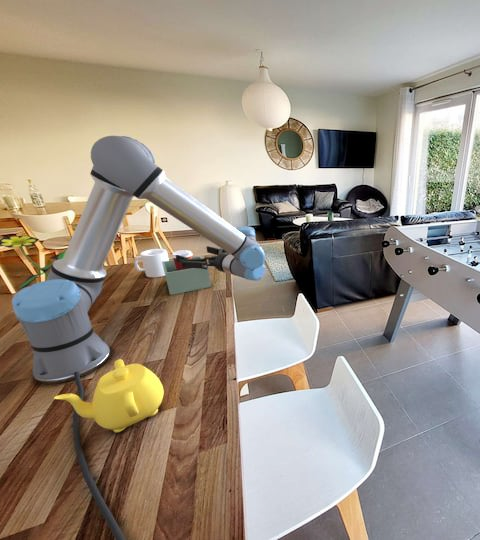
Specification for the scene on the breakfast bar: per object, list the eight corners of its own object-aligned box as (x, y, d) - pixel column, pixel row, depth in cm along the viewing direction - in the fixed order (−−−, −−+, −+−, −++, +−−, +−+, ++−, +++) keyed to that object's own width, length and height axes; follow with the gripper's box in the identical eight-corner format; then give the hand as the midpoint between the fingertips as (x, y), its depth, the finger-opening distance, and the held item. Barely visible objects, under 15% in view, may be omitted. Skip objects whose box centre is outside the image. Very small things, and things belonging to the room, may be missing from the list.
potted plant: (30, 339, 88) (-14, 247, 77) (40, 314, 101) (3, 231, 90) (105, 321, 99) (77, 237, 87) (105, 300, 112) (80, 225, 101)
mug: (134, 279, 130) (128, 257, 126) (140, 270, 139) (135, 250, 135) (169, 275, 135) (164, 254, 131) (173, 268, 144) (168, 248, 140)
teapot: (122, 388, 72) (109, 350, 68) (180, 389, 73) (170, 352, 68) (72, 439, 59) (51, 396, 55) (142, 440, 60) (127, 398, 55)
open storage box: (211, 286, 127) (207, 266, 123) (170, 295, 118) (164, 273, 114) (204, 274, 138) (201, 255, 134) (166, 281, 129) (161, 261, 126)
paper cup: (200, 281, 129) (195, 252, 124) (183, 287, 123) (177, 256, 118) (190, 277, 133) (185, 248, 128) (173, 282, 127) (167, 252, 122)
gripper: (201, 284, 101) (164, 271, 110) (254, 262, 122) (219, 253, 131) (198, 264, 99) (160, 253, 107) (252, 246, 119) (217, 238, 128)
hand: (192, 253), depth 119 cm, fingers open, 13 cm apart
